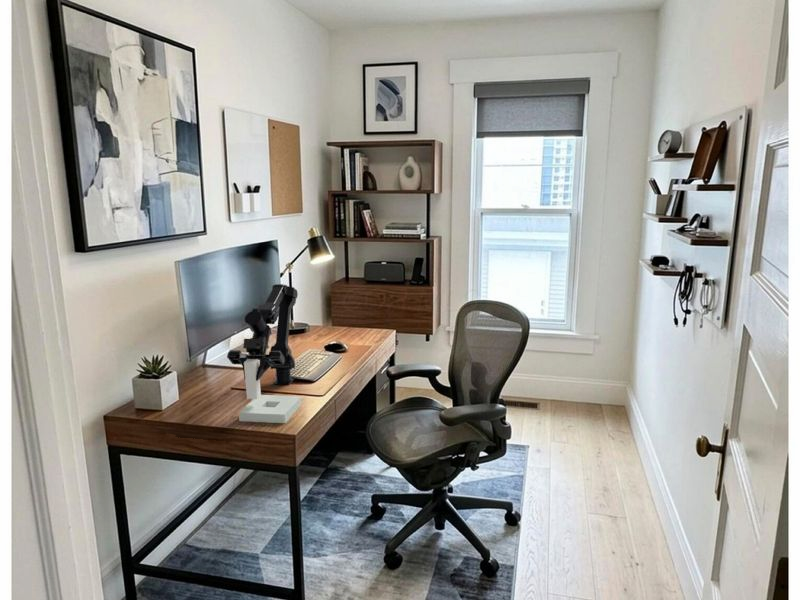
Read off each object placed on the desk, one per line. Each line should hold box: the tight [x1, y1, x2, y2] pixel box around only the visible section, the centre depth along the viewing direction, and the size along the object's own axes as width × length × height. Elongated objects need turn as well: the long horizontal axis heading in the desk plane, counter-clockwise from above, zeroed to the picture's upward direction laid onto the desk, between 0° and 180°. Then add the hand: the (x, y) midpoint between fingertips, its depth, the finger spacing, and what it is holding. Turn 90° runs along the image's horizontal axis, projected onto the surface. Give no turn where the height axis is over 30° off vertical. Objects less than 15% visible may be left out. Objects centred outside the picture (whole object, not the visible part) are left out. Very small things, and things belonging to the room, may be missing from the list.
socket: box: [238, 394, 302, 424], centre depth 183 cm, size 16×16×3 cm
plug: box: [244, 359, 262, 400], centre depth 180 cm, size 4×4×13 cm
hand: (251, 380), depth 179 cm, fingers closed on plug, 4 cm apart
